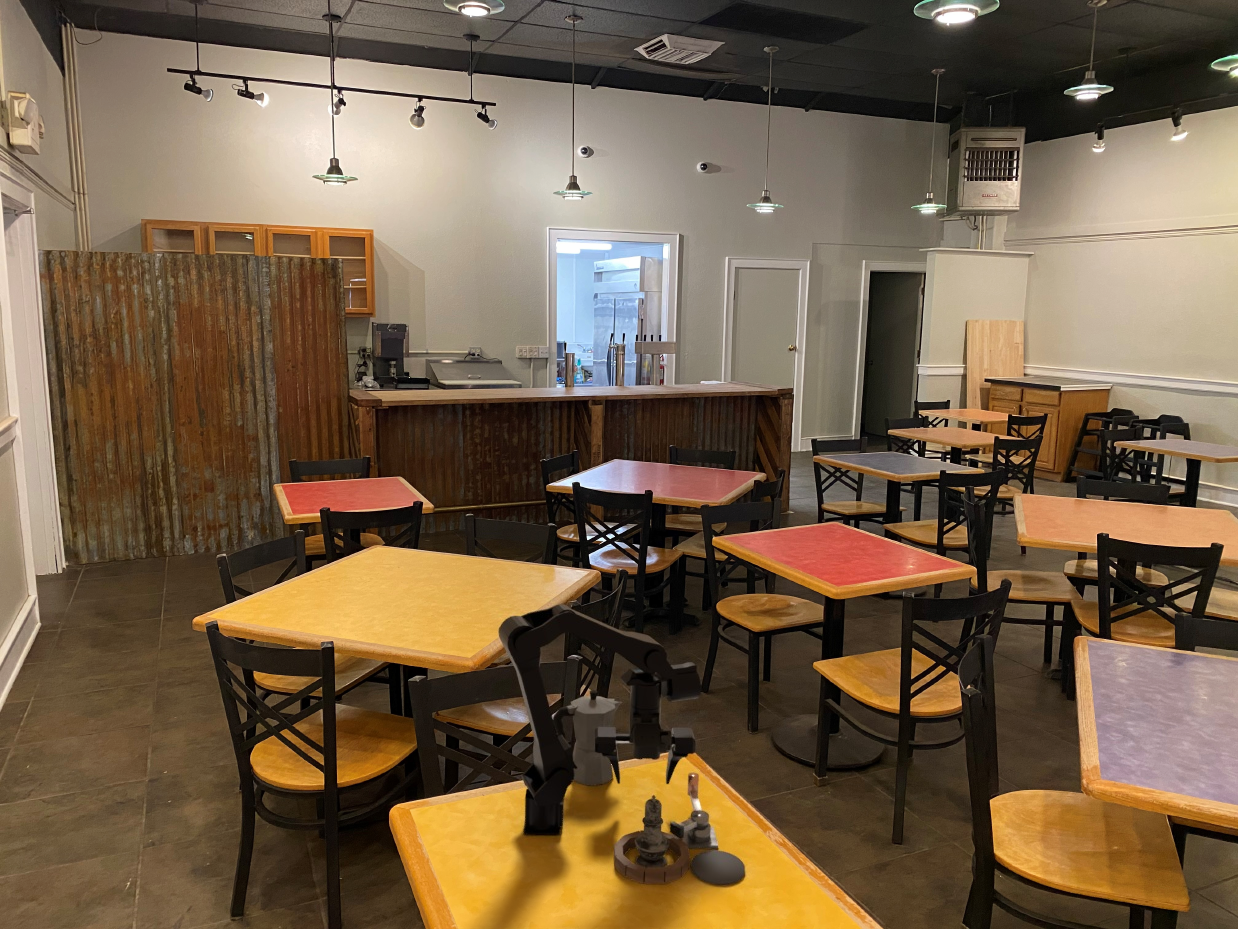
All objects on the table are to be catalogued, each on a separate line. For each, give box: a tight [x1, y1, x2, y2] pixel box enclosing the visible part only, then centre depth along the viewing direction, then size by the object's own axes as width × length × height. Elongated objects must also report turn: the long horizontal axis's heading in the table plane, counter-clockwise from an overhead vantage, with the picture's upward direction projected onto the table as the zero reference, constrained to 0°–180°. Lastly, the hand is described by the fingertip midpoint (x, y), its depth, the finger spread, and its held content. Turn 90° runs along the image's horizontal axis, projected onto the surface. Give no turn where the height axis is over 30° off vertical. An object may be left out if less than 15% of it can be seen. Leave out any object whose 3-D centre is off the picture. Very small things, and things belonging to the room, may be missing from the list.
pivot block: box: [681, 823, 719, 850], centre depth 154 cm, size 6×6×2 cm
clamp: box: [669, 772, 710, 840], centre depth 156 cm, size 7×16×4 cm, turn 2°
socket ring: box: [613, 829, 691, 885], centre depth 147 cm, size 13×13×2 cm
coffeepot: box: [552, 689, 623, 786], centre depth 175 cm, size 15×9×18 cm, turn 119°
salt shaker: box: [635, 794, 669, 867], centre depth 146 cm, size 6×6×12 cm
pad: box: [690, 849, 746, 886], centre depth 145 cm, size 9×9×1 cm
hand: (642, 783), depth 163 cm, fingers open, 9 cm apart
